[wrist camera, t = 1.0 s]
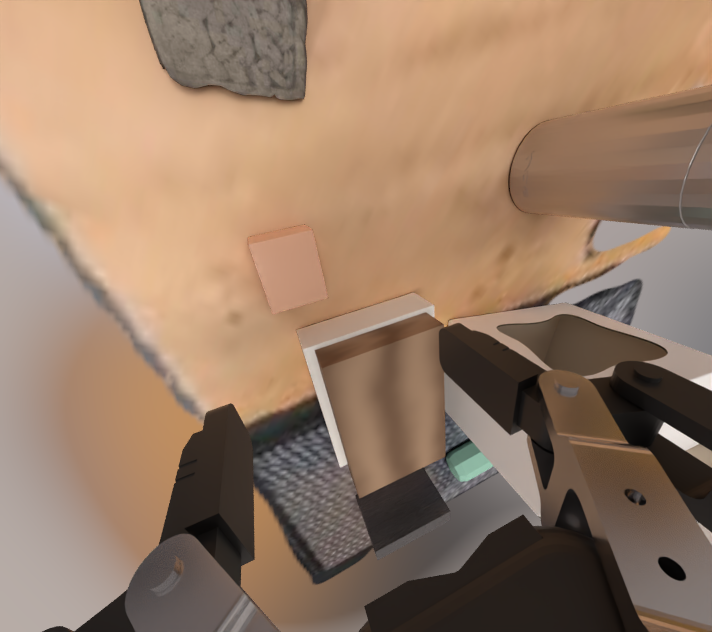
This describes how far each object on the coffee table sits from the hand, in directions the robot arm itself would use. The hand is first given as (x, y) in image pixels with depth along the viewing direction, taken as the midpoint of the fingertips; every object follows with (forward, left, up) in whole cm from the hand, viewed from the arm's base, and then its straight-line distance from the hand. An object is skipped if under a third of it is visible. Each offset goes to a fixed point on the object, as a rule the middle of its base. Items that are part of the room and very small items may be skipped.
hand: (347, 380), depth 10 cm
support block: (0, 0, -18) cm, 18 cm away
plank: (-6, +17, -14) cm, 23 cm away
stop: (-6, +40, -18) cm, 44 cm away
